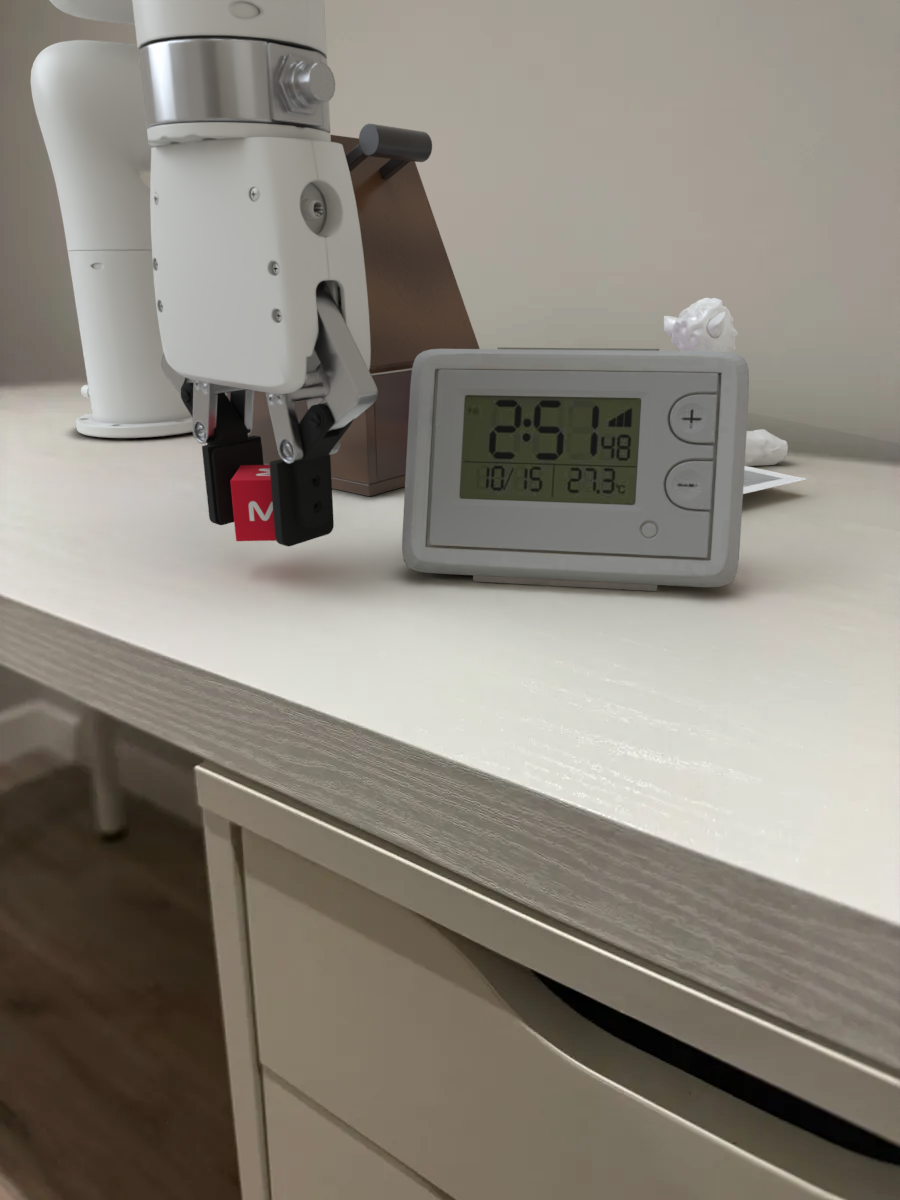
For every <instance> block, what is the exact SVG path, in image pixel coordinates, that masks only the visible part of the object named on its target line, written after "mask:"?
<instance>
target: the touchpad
mask: <svg viewBox="0 0 900 1200" xmlns="http://www.w3.org/2000/svg"><path fill="white" fill-rule="evenodd" d="M808 480H809V479H808V478H805V477H800V476H795V475H791V474H787V473H781V472H777V471H772V470H767V469H762V468H757V467H754V466H745V467H744V484H743V495H746V494H751V493H754V492H759V491H763V490H767V489H771V488H777V487H781V486H785V485H790V484H794V483H799V482H803V481H808Z"/></svg>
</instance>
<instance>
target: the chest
mask: <svg viewBox="0 0 900 1200" xmlns="http://www.w3.org/2000/svg"><path fill="white" fill-rule="evenodd" d="M412 367H413V364H412V365H405V366H397V367H390V368H382V369H375V370H369V372H370V374H371V376H372V378H373V380H374V382H375V384H376V386H377V389H378V397H377V400H376V401H375V402H374V403H373V404H372V405H371V406H370V407H368V408H367V409H366V410H365V411H364V412H363V413H361V414H360V415H359V416H358V417H357V418H355V419H353V421H352V423H351V425H350V426H349V428H348V429H347V430H346V432H345V433H344V434H343V436H342V437H341V438H340V448H339V450H338V451H337V452H336V453H334V454H330V461H331V480H332V490H333V489H334V490H339V491H342V492H348V493H352V494H358V495H360V496H361V495H362V496H367V497H372V496H375V495H380V494H383V493H386V492H391V491H394V490H397V489H401V488H405V477H406V458H407V439H408V420H409V402H410V386H411V374H412ZM303 386H306V385H305V383H304V385H303ZM329 386H330V383H329ZM230 393H231V392H227V393H226V396H227V397H228V399H229V400H230ZM294 403H295V408H296V413H297V418H298V422H299V423H300V421H301V420H302V418H303V417H304V415H305V414H306V412H307V411H308V407H307V402H306V400H303V401H297V402H294ZM254 435H255V436H259V437H261V444H262V451H263V464H264V465H270V462H271V461H276V460H280V459H281V458H280V456H279V453H278V449H277V444H276V440H275V435H274V430H273V426H272V421H271V416H270V411H269V407H268V402H267V397H266V393H265V392H261V391H255V390H254V406H253V422H252V431H251V433H250V434H249V435H248V437H249V436H254Z"/></svg>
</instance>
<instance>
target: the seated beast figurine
mask: <svg viewBox="0 0 900 1200" xmlns="http://www.w3.org/2000/svg"><path fill="white" fill-rule="evenodd" d="M723 303H724V302H723V300H722V299H720V298H716V297H712V298H711V297H704V298H701V299H699V300H696V301H695V302H694V303H691V304H690V305H689V306H688V307H686V308H684V309H683V310H681V311H680V312H679V314H678V316H672V315H664V316H663V331H664V333H665V334H666V335H667V336H669V337H671V339H670V343H672V344H673V345H675V346H676V349H677V350H678V351H722V352H731V353H734V351H735V350H737V346H736V339H737V338H736V337H737V336H738V335H739V333H738V330H737V329H736V328H735V327H734V321H735V320H734V317H733V316H732V315H731V311H730V310H729V309H728V307H727V306H725V305H723ZM788 449H789V445H788V442H787V440H784V439H782V438H780V437H778V436H776V435H774V434H772V433H771V432H769V431H768V430H767V429H765V428H760V429H754V430H747V433H746V450H745V466H748V467H756V466H775V465H778V464H779V463H781V462H783V461H784V460H785V459H786V457H787V456H788V455H787V454H788V453H789V451H788Z"/></svg>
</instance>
